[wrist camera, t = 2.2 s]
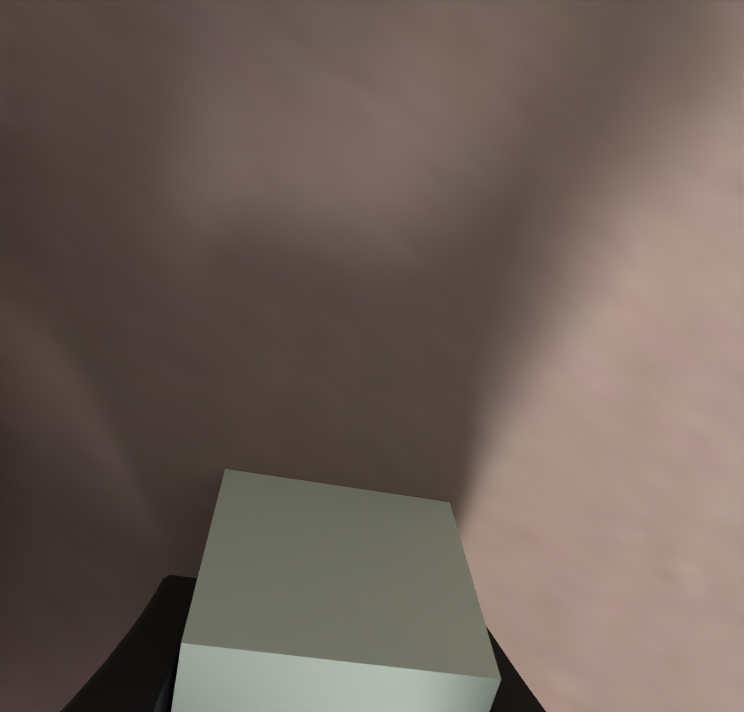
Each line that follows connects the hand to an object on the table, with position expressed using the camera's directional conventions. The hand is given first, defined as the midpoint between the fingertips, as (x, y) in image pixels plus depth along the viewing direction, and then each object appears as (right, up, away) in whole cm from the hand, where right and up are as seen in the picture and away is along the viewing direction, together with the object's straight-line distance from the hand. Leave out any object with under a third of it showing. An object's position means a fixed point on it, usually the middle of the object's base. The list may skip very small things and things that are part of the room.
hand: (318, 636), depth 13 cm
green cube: (0, +1, +2) cm, 2 cm away
